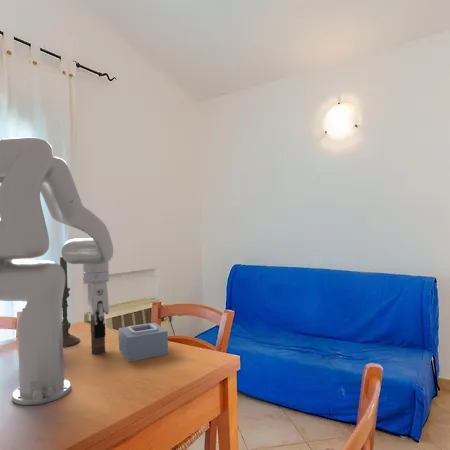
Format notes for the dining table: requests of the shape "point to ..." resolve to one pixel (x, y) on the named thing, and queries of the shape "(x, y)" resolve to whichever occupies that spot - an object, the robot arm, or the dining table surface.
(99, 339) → the walnut dowel
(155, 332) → the square peg hole block
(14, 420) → the dining table surface
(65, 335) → the candlestick holder
